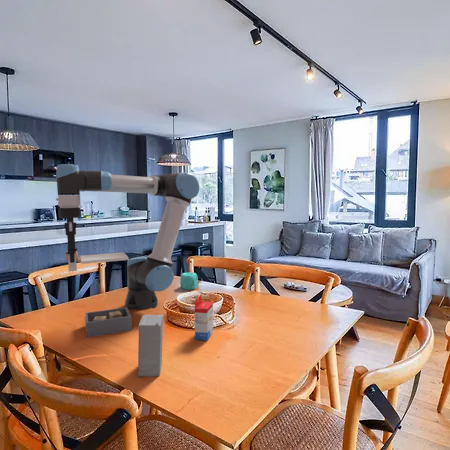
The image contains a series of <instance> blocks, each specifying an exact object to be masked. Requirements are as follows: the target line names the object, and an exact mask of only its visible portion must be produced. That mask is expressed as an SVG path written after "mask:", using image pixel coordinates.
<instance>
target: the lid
mask: <svg viewBox="0 0 450 450" xmlns="http://www.w3.org/2000/svg"><path fill="white" fill-rule="evenodd" d="M66 252H68V250H66ZM64 257H65V261H66V262H68V254H66V253H65V256H64ZM129 259H130V258H129V256H128V255H127V254H126V253H125V252H124V251H122V252H121V251H120V252H111V253H110V252H109V253H99V254H98V253H97V254H86V255H85V254H84V255H83V254H82V255H79V253H78V250H77V251H76V263H80V264H81V265H83V264H96V263H109V262H118V261H128V260H129Z"/></svg>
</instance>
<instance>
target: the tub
mask: <svg viewBox="0 0 450 450" xmlns="http://www.w3.org/2000/svg"><path fill="white" fill-rule="evenodd" d="M116 311H120V312H121V313H122V317H119V318H112V319H109V313H111V312H116ZM84 315H85V316H84V318H85V319H84V320H85V333H86V338H91V337H92V338H93V337H99V336H106V335H111V334H117V333H124V332H130V331H132V330H133V327H132V325H133V323H132V315H131V312H130V311H129V309H128V308H127V307H125V306H124V307H117V308H108V309H103V310H95V311H88V312H85V313H84ZM96 316H106V319H105V320H99V321H93V320H94V318H95V317H96Z"/></svg>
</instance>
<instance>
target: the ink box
mask: <svg viewBox="0 0 450 450" xmlns="http://www.w3.org/2000/svg"><path fill="white" fill-rule="evenodd" d="M213 305H214V302H213V301H205V300H204V301H203V300H202V294H199V296H198V297H196V298H195V299H194V339H195V341H196V340H197V341H208V340H209V339H210V337H211V335H212V334H213V332H214V318H213V317H214V306H213Z"/></svg>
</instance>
